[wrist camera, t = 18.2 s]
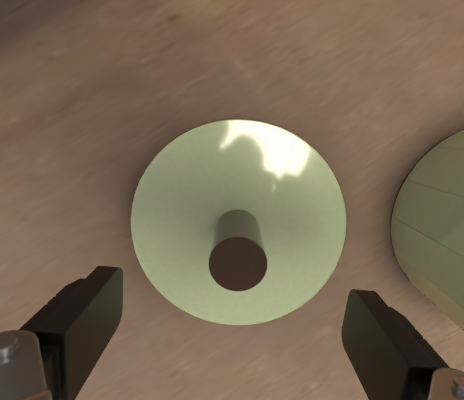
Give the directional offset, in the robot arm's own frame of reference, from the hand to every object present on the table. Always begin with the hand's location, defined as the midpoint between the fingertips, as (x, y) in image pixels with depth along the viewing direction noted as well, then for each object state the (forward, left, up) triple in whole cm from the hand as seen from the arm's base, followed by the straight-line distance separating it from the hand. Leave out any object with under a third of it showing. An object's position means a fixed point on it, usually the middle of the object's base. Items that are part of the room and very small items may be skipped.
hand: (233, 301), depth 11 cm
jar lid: (0, 0, -9) cm, 9 cm away
